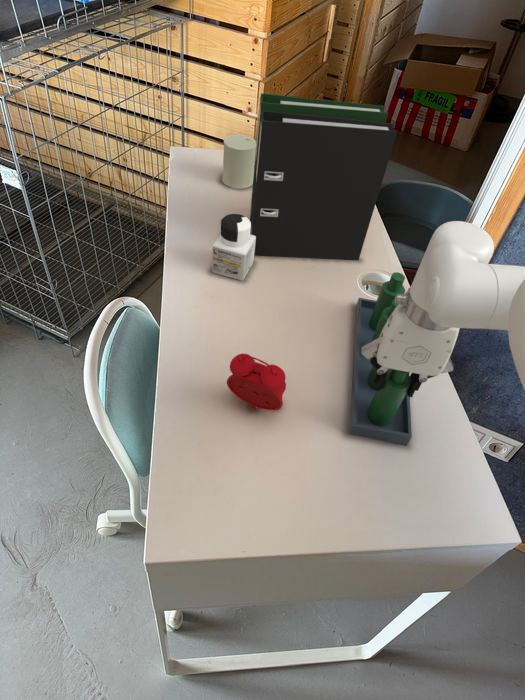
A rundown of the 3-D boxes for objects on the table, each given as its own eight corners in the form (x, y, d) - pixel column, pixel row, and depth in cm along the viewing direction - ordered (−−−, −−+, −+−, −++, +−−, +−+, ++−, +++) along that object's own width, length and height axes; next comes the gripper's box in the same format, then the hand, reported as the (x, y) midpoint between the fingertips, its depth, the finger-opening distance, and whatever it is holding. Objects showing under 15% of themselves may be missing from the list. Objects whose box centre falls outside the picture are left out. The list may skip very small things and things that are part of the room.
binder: (350, 229, 129) (384, 104, 105) (359, 264, 119) (398, 134, 95) (249, 222, 126) (260, 93, 103) (249, 257, 116) (262, 122, 93)
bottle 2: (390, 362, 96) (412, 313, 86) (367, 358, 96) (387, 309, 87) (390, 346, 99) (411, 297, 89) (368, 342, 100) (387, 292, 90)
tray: (406, 445, 84) (412, 437, 82) (349, 434, 85) (353, 425, 83) (400, 315, 107) (404, 305, 105) (355, 306, 108) (358, 297, 106)
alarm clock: (287, 404, 88) (299, 349, 77) (274, 430, 84) (285, 376, 73) (236, 383, 90) (241, 327, 79) (221, 407, 86) (224, 352, 75)
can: (259, 184, 140) (263, 143, 131) (233, 191, 136) (236, 150, 127) (241, 170, 145) (244, 130, 136) (215, 177, 141) (217, 136, 132)
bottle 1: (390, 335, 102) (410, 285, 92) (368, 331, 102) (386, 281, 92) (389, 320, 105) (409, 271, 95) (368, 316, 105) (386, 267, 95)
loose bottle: (392, 427, 85) (418, 379, 75) (367, 422, 85) (389, 374, 75) (392, 406, 88) (416, 358, 78) (367, 402, 88) (388, 353, 78)
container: (211, 272, 111) (212, 224, 102) (223, 254, 116) (225, 206, 107) (242, 281, 110) (247, 233, 100) (253, 262, 115) (258, 215, 106)
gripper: (371, 314, 65) (342, 395, 79) (496, 337, 64) (445, 415, 78) (372, 280, 70) (344, 361, 84) (488, 301, 70) (441, 379, 83)
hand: (393, 386), depth 81 cm, fingers closed on loose bottle, 4 cm apart
